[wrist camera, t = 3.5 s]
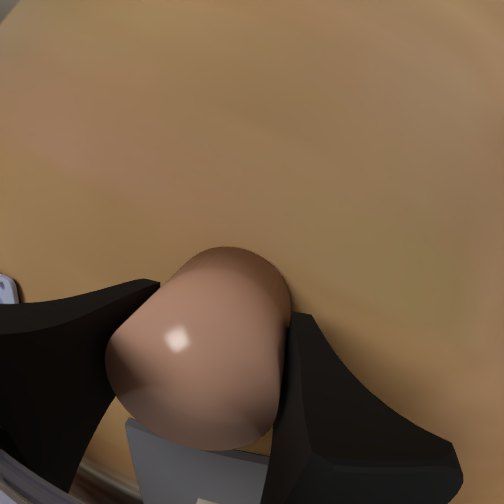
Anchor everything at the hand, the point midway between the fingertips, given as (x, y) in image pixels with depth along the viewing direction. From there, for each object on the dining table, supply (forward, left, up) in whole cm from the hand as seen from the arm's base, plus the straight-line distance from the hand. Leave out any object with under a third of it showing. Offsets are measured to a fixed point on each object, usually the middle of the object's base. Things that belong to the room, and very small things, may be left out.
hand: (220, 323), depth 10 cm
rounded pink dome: (0, 0, -2) cm, 2 cm away
